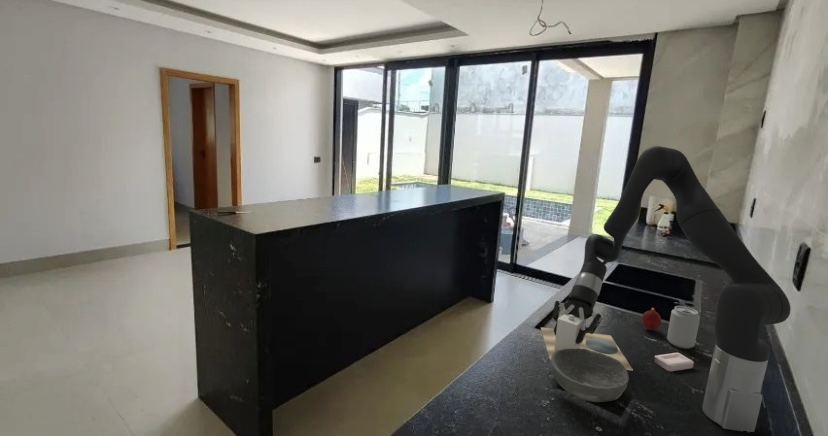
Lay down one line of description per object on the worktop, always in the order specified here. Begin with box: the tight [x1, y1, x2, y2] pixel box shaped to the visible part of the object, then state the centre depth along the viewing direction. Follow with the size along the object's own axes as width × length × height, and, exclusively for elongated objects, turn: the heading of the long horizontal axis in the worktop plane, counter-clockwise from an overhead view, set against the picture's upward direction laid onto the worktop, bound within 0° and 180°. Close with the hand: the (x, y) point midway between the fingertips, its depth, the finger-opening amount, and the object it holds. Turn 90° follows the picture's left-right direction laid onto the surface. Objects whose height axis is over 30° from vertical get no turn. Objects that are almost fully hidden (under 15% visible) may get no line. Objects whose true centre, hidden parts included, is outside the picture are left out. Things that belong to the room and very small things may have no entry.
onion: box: [641, 307, 662, 331], centre depth 132 cm, size 6×6×8 cm
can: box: [666, 305, 701, 349], centre depth 122 cm, size 8×8×12 cm
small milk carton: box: [554, 313, 583, 351], centre depth 113 cm, size 6×6×11 cm
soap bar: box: [653, 352, 695, 372], centre depth 111 cm, size 5×9×2 cm, turn 105°
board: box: [540, 326, 634, 372], centre depth 117 cm, size 20×22×2 cm
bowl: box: [549, 348, 630, 403], centre depth 96 cm, size 18×18×8 cm
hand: (566, 338), depth 112 cm, fingers closed on small milk carton, 5 cm apart
